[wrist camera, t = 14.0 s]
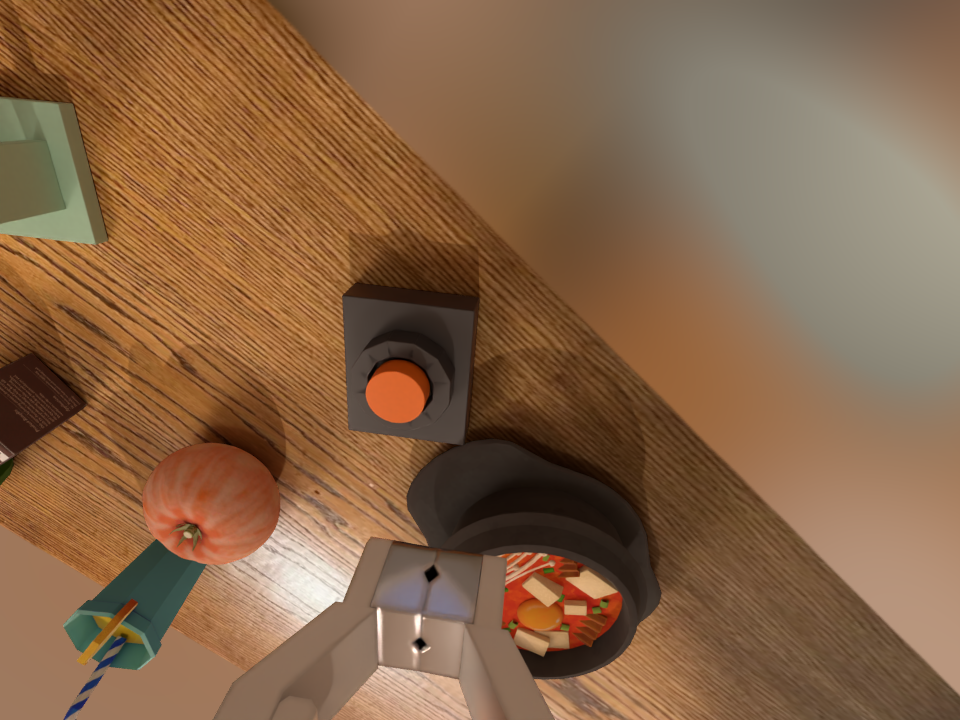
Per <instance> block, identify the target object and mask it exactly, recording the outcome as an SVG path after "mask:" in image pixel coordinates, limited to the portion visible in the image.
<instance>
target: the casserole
mask: <svg viewBox="0 0 960 720" xmlns="http://www.w3.org/2000/svg"><path fill="white" fill-rule="evenodd" d="M407 507H408V511H409V512H410V514H411V515H412V517H413V519H414V520H415V522H416V523H417V525H418V527H419V528H420V530H421V532H422V533H423V535H424V536H425V538H426V540H427V543H428V546H429V547H433V548H444V549H451V550H458V551H465V552H472V553H479V554H483V556H484V555H489V556H496V557H502V558H507V570H506V582H505V593H504V604H503V616H502V627H501V629H504V630H508V631H509V633H510V634H511V636H512V638H513V640H514V642H515V644H516V646H517V648H518V650H519V652H520V654H521V656H522V658H523V659H524V661H525V663H526V665H527V667H528V669H529V671H530V673H531V675H532V677H533V679H564V678H570V677H576V676H581V675H584V674H587V673H590V672H593V671H596V670H598V669H600V668H602V667H604V666H606V665H608V664H610V663H611V662H612V661H614V660H615V659H616V658H618V657H619V656H620V655H621V654H622V653H623V652H624V651H625V650H626V648H627V647H628V646H629V645H630V643H631V641H632V639H633V637H634V635H635V633H636V629H637V626H638V624H639V623H640V622H641V621H643V620H644V619H645V618H647V617H648V616H649V615H650V614H651V613H652V612H653V611H654V610H655V608H656V607H657V606H658V605H659V601H660V597H661V590H660V587H659V584H658V582H657V579H656V577H655V574H654V572H653V570H652V568H651V565H650V558H649V550H648V542H647V534H646V532H645V529H644V527H643V525H642V522H641V520H640V518H639V516H638V515H637V514H636V512H635V511H634V510H633V508H632V507H631V506H630V504H629V503H628V502H627V501H626V500H625V499H623V498H622V497H621V496H620V495H619V494H618V493H616V492H615V491H614V490H613V489H612V488H610V487H608V486H606V485H605V484H603V483H601V482H599V481H598V480H596V479H594V478H592V477H589V476H587V475H584V474H581V473H578V472H575V471H573V470H570V469H567V468H564V467H561V466H558V465H556V464H553V463H550V462H548V461H546V460H544V459H543V458H541V457H539V456H537V455H535V454H533V453H531V452H530V451H528V450H526V449H524V448H522V447H520V446H519V445H517V444H515V443H513V442H511V441H505V440H498V439H485V440H477V441H472V442H469V443H466V444H464V445H460V446H457V447H454V448H452V449H450V450H448V451H446V452H444V453H443V454H441V455H439V456H437V457H435V458H434V459H433V460H432V461H431V462H430V463H428V464H427V465H426V466H425V467H424V468H423V469H422V470H421V471H420V472H419V473H418V475H417V476H416V478H415V479H414V480H413V482H412V483H411V485H410V488H409V491H408V494H407ZM482 561H483V559H482Z"/></svg>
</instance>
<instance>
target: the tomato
mask: <svg viewBox="0 0 960 720" xmlns="http://www.w3.org/2000/svg"><path fill="white" fill-rule="evenodd" d="M142 501H143V514H144V518H145V521H146V524H147V526H148V528H149V530H150V531H151V533H152V535H153V536H154V537H155V538H156V539H157V540H159V541H160V542H161V543H162V544H163V545H164V546H165V547H166V548H167V549H168V550H170V551H171V552H173V553H174V554H176V555H178V556H179V557H181V558H183V559H187V560H193V561H196V562H198V563H202V564H217V565H218V564H226V563H230V562H234V561H236V560H239V559H241V558H244V557H246V556H248V555H250V554H251V553H253V552H254V551H256V550H257V549H258V548H259V547H261V546H262V545H263V544H264V543H265V542H266V541H267V539H268V538H269V537H270V536H271V534H272V533H273V531H274V530H275V527H276V525H277V522H278V518H279V512H280V494H279V490H278V487H277V484H276V482H275V480H274V478H273V476H272V475H271V473H270V472H269V470H268V469H267V468H266V467H265V466H264V464H262V463H261V462H260V461H259V460H258V459H257V458H255V457H254V456H252V455H251V454H249V453H247V452H245V451H243V450H241V449H239V448H237V447H234V446H230V445H226V444H220V443H201V444H195V445H191V446H188V447H185V448H182V449H180V450H178V451H176V452H174V453H172V454H171V455H169V456H168V457H166V458H165V459H164V460H163V461H162V462H160V463H159V465H158V466H157V467H156V468H155V469H154V471H153V472H152V473H151V475H150V477H149V478H148V480H147V483H146V485H145V487H144V490H143V496H142Z"/></svg>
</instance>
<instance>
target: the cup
mask: <svg viewBox="0 0 960 720" xmlns="http://www.w3.org/2000/svg"><path fill="white" fill-rule="evenodd" d="M206 565H207V564H202V563H198V562H196V561H193V560H187V559H183V558H181V557H179V556H178V555H176V554H174V553H173V552H171V551H170V550H168V549H167V548H166V547H165V546H164V545H163V544H162V543H161V542H160V541H159V540H157V539H156V540H155V541H154V542H153V543H152V544H151V545H150V546H149V547H148V548H146V549H145V550H144V551H143V552H142V553H141V554H140V555H139V556H138V557H137V558H136V559H135V560H134V561H133V562H132V563H131V564H130V565H129V566H128V567H127V568H125V569H124V570H123V571H122V572H121V573H120V574H119V575H118V576H117V577H116V578H115V579H114V580H113V581H112V582H111V583H110V584H109V585H108V586H107V587H106V588H105V589H103V590H102V591H101V592H100V593H99V594H98V595H97V596H96V597H95V598H94V599H93V600H88V601H86V603H84V604H83V605H82V606H81V607H80V608H79V609H77V611H76V612H75V613H74V614H73V615H72V616H71V617H70V618H69V619H68V620H67V621H66V622H65V623H64V628H65V630H66V632H67V633H68V635H69V637H70V639H71V640H72V642H73V644H74V645H75V647H76V649H77V650H79V651H80V652H82V653H83V654H82V655H81V656H80V658H79V659H78V660H77V662H79V663H81V664H83V665H86V664H87V662H88V661H89V660H90V659H91V658H93V659H94V660H96V661H98V662H99V665H98V667H97V668H96V669H95V671H94V672H93V674H92V675H91V677H90V678H89V680H88V682H87V683H86V684H85V686H84V687H83V689H82V690H81V692H80V693H79V695H78V696H77V698H76V699H75V701H74V702H73V704H72V705H71V707H70V708H69V710H68V712H67V714H66V716H65V718H64V720H76V718H77V716H78V714H79V712H80V710H81V708H82V707H83V705H84V704H85V702H86V701H87V699H88V698H89V696H90V695H91V693H92V692H93V690H94V689H95V687H96V686H97V684H98V682H99V681H100V679H101V678H102V676H103V675H104V673H105V672H106V670H107V669H108V667H115V668H124V669H132V670H139V669H141V668H142V667H143V666H144V665H146V664H147V663H148V662H149V661H150V660H151V659H152V658H154V657H155V656H156V654H157V652H158V650H159V648H160V647H161V642H160V641H161V639H162V637H163V636H164V634H165V632H166V631H167V629H168V628H169V626H170V624H171V623H172V621H173V619H174V618H175V616H176V614H177V613H178V611H179V609H180V608H181V606H182V604H183V603H184V601H185V599H186V598H187V596H188V594H189V593H190V591H191V590H192V588H193V586H194V585H195V583H196V581H197V580H198V578H199V576H200V575H201V573H202V571H203V570H204V568H205V566H206Z"/></svg>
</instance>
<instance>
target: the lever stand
mask: <svg viewBox="0 0 960 720" xmlns="http://www.w3.org/2000/svg"><path fill="white" fill-rule="evenodd" d="M0 233H1V234H9V235H18V236H27V237H35V238H44V239H53V240H61V241H70V242H79V243H87V244H99V243H102V242H105V241H108V238H107V234H106V230H105V226H104V222H103V218H102V214H101V211H100V207H99V203H98V199H97V195H96V191H95V187H94V183H93V179H92V176H91V172H90V168H89V164H88V160H87V156H86V152H85V148H84V145H83V141H82V137H81V133H80V129H79V125H78V121H77V117H76V113H75V110H74V106H73V104H72V103H63V102H53V101H42V100H32V99H22V98H11V97H1V96H0Z"/></svg>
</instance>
